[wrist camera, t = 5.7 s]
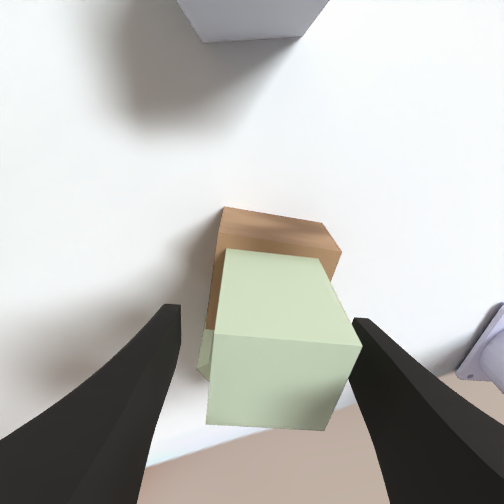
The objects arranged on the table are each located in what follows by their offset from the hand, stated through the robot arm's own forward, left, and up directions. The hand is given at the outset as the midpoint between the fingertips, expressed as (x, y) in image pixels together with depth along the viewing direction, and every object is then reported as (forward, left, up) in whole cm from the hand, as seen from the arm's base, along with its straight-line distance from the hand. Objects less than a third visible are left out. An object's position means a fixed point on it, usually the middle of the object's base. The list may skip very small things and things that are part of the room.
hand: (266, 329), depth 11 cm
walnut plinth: (0, 0, -7) cm, 7 cm away
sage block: (0, 0, -3) cm, 3 cm away
